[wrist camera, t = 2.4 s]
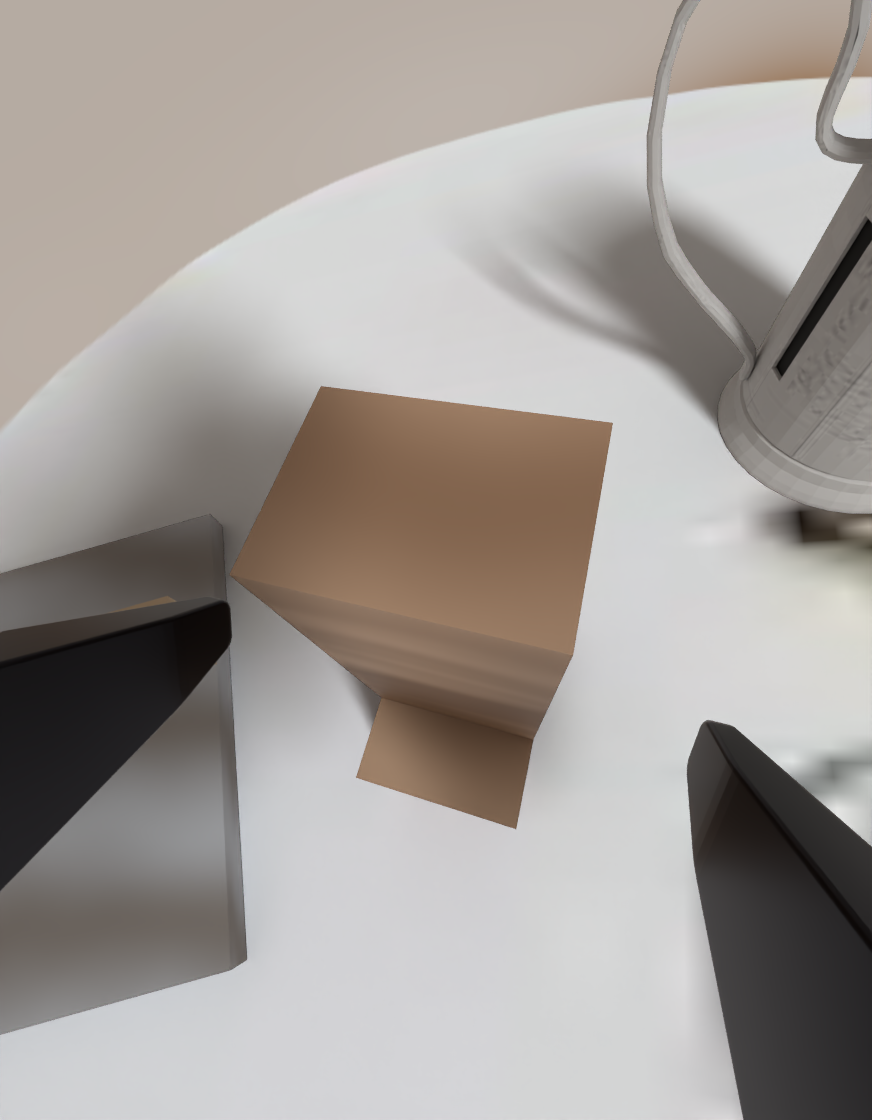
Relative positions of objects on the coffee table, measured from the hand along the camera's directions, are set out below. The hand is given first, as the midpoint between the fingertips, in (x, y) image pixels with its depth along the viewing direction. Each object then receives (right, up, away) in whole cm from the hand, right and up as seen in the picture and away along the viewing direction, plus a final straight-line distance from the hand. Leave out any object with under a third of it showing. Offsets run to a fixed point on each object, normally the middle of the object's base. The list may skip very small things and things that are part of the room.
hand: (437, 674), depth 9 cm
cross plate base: (-13, -5, +10) cm, 17 cm away
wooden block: (+1, -3, +8) cm, 9 cm away
